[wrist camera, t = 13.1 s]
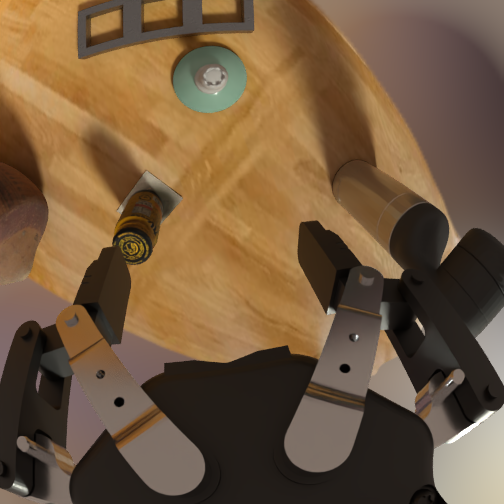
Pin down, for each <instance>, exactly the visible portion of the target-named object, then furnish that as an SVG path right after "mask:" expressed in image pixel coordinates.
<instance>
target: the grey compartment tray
mask: <svg viewBox="0 0 504 504" xmlns="http://www.w3.org/2000/svg"><path fill="white" fill-rule="evenodd" d="M157 1H163V0H112V1H109V2H106V3H102V4H99V5H96V6H93V7H90V8H87V9H84V10H82V11H79V12H78V58H79V59H87V58H90V57H93V56H96V55H99V54H102V53H106V52H109V51H113V50H117V49H121V48H125V47H129V46H133V45H138V44H143V43H147V42H153V41H158V40H164V39H171V38H178V37H186V36H195V35H207V34H223V33H252V32H253V31H254V9H253V0H241V6H242V23H213V24H202V0H183V26H181V27H173V28H166V29H160V30H155V31H149V32H144V4H146V3H151V2H157ZM120 9H123V37H122V38H118V39H115V40H111V41H107V42H104V43H101V44H97V45H94V46H91V18H93V17H96V16H99V15H103V14H106V13H109V12H113V11H116V10H120Z"/></svg>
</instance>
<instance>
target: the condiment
mask: <svg viewBox="0 0 504 504" xmlns="http://www.w3.org/2000/svg"><path fill="white" fill-rule="evenodd" d="M149 188H150V189H149ZM182 199H183V198H182V197H181V196H179V195H178V194H177V193H176V192H174V191H173V190H172V189H171V188H169V187H168V186H167V185H165V184H164V183H163V182H162V181H160V180H159V179H157V178H156V177H155V176H153V175H152V174H150V173H149V172H148V171H146V172H145V173H144V174H143V176H142V177H141V178H140V180H139V181H138V182H137V184H136V185H135V186H134V188H133V189H132V190H131V192H130V193H129V194H128V196H127V197H126V199H125V200H124V201H123V203H122V204H121V206H120V207H119V209H118V210H117V212H119V213H120V214H121V216H120V218H119V220H118V222H117V225H116V227H115V232H114V238H113V242H112V245H113V246H120V248H121V250H122V253H123V256H124V259H125V262H126V263H127V264H131V265H136V264H141V263H143V262H145V261H147V259H148V258H149V257H150V255H151V253H152V251H153V250H152V249H153V248H154V246H155V245H156V243H157V239H158V234H159V229H160V225H161V223H162V222H163V221H164V220H165V219H166V218H167V216H168V215H169V214H170V213H171V212H172V211H173V209H174V208H175V207H176V206H177V205H178V204H179V203H180V202H181V200H182Z"/></svg>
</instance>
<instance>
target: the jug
mask: <svg viewBox="0 0 504 504" xmlns="http://www.w3.org/2000/svg"><path fill="white" fill-rule="evenodd" d="M47 221H48V206H47V202H46V199H45V197H44V196H43V194H42V193H41V191H40V190H39V189H38V188H37V186H36V185H35V184H34V183H33V182H32V181H30V180H29V179H28V178H27V177H26V176H25V175H23V174H22V173H21V172H19V171H18V170H16V169H15V168H13V167H11V166H9V165H7V164H4V163H2V162H0V286H1V285H5V284H9V283H13V282H18V281H23V280H24V279H26V278H27V277H28V275H29V273H30V272H31V269H32V265H33V261H34V256H35V252H36V249H37V247H38V244H39V242H40V240H41V238H42V235H43V233H44V231H45V228H46V224H47Z"/></svg>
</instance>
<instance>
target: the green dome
mask: <svg viewBox="0 0 504 504" xmlns="http://www.w3.org/2000/svg"><path fill="white" fill-rule="evenodd" d="M207 64H219V65H221V66H223V67H224V68H225V69H226V70H227V72H228V81H227V83H226V86H225V87H224V88H223V89H222V90H221V91H219V92H217V93H215V94H206V93H203V92H201V91H200V90H198V89H197V87H196V85H195V81H194V77H195V74H196V72H197V71H198V70H199V69H200V68H201V67H203V66H205V65H207ZM246 80H247V75H246V70H245V67H244V64H243V63H242V61H241V60H240V58H239V57H238V56H237V55H236V54H234V53H233V52H232V51H230V50H228V49H226V48H223V47H219V46H205V47H200V48H197V49H195V50H193V51H191V52H189V53H188V54H187V55H185V56H184V57H183V58H182V59H181V61H180V62H179V63H178V65H177V67H176V69H175V72H174V76H173V86H174V90H175V93H176V95H177V97H178V98H179V100H180V101H181V102H182V103H183V104H184V105H186V106H187V107H189V108H190V109H192V110H195V111H198V112H204V113H213V112H218V111H221V110H224V109H226V108H228V107H230V106H231V105H233V104H234V103H235V102H236V101H237V100H238V99H239V98H240V96H241V95H242V93H243V91H244V89H245V86H246Z"/></svg>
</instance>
